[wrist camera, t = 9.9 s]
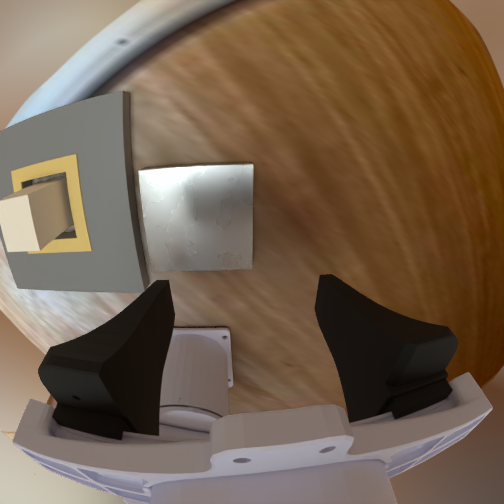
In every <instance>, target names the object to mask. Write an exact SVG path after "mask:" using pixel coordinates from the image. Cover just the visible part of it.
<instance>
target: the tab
mask: <svg viewBox="0 0 504 504" xmlns="http://www.w3.org/2000/svg"><path fill="white" fill-rule="evenodd" d="M139 183H140V193H141V202H142V211H143V219H144V226H145V233H146V240H147V246H148V252H149V258H150V264H151V270H152V272H169V271H212V270H246V269H252V251H253V164H252V162H231V163H202V164H184V165H170V166H157V167H147V168H143V169H141V170H139Z"/></svg>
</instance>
